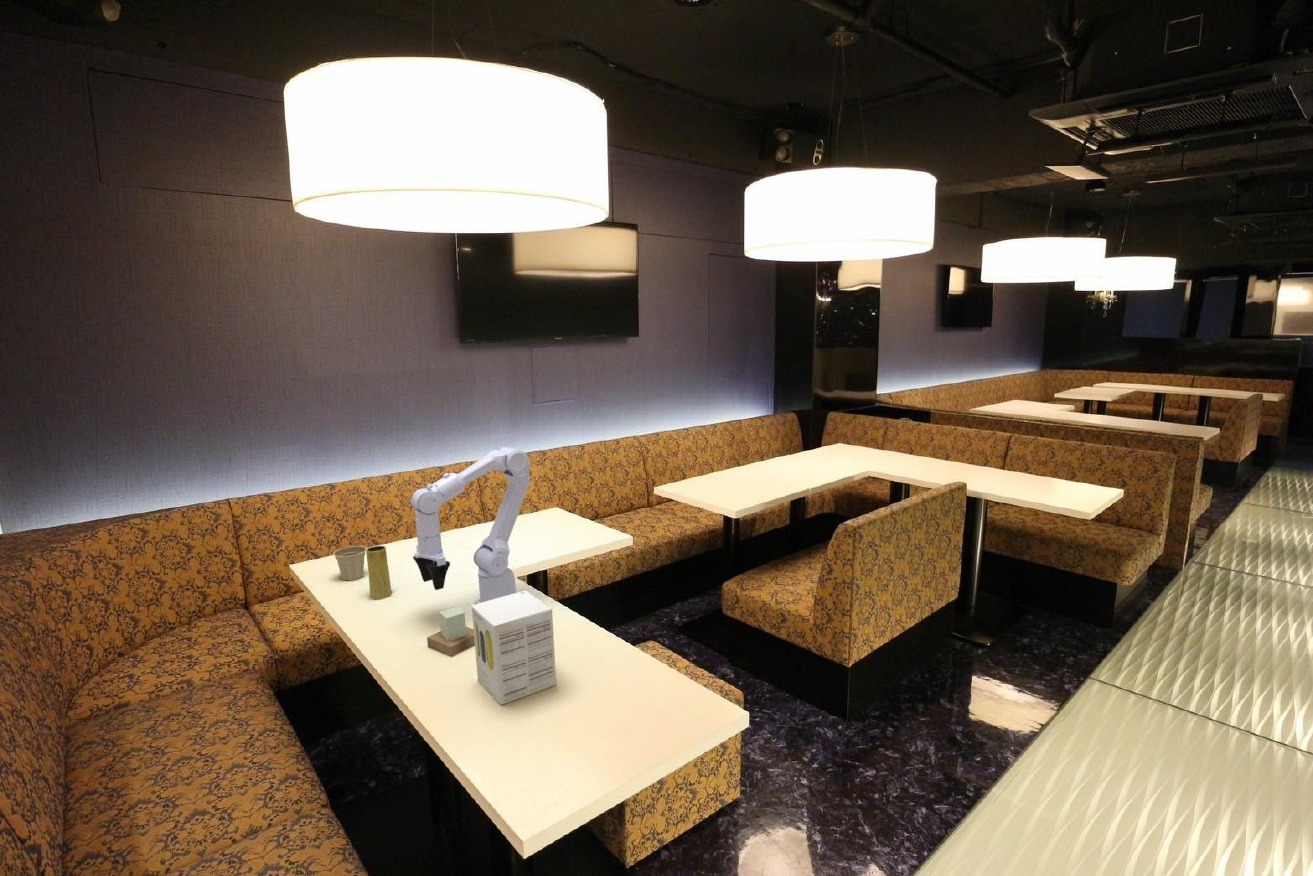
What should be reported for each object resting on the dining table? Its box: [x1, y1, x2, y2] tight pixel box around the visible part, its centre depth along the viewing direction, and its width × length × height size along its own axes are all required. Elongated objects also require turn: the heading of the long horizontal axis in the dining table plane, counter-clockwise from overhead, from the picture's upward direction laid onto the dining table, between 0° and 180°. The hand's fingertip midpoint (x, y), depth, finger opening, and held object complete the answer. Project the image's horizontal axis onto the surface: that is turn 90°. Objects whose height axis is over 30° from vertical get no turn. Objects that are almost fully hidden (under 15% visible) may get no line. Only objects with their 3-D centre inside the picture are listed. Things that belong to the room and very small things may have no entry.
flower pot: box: [333, 545, 368, 582], centre depth 208 cm, size 9×9×9 cm
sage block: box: [438, 606, 467, 642], centre depth 161 cm, size 4×4×6 cm
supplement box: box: [470, 590, 557, 706], centre depth 143 cm, size 13×13×18 cm
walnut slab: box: [426, 626, 475, 657], centre depth 163 cm, size 9×9×3 cm
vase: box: [365, 545, 393, 600], centre depth 193 cm, size 6×6×14 cm
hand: (433, 584), depth 175 cm, fingers open, 7 cm apart
